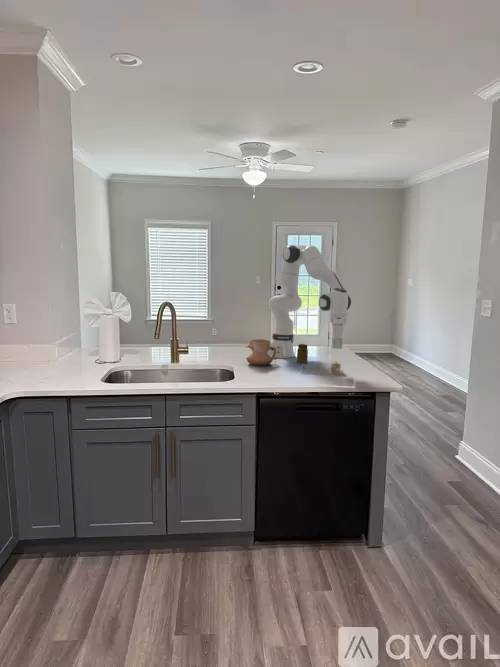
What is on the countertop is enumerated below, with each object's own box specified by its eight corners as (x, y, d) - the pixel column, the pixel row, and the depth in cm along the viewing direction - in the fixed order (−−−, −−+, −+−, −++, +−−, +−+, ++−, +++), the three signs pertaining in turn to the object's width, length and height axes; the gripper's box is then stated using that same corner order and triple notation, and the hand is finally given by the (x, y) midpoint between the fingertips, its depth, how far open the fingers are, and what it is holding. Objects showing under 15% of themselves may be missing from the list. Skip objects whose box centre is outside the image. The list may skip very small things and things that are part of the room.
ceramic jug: (243, 366, 245) (243, 342, 243) (246, 361, 259) (247, 337, 257) (275, 368, 243) (275, 343, 241) (276, 362, 257) (277, 339, 255)
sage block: (332, 348, 229) (332, 339, 228) (332, 346, 234) (332, 337, 233) (342, 348, 228) (342, 339, 227) (341, 347, 233) (342, 338, 232)
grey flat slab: (300, 375, 229) (300, 373, 228) (303, 368, 243) (303, 366, 243) (343, 378, 224) (343, 376, 224) (342, 371, 239) (343, 369, 239)
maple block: (330, 372, 231) (331, 363, 231) (330, 370, 236) (331, 361, 235) (340, 373, 230) (340, 364, 230) (340, 371, 235) (340, 362, 234)
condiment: (303, 363, 258) (304, 343, 256) (311, 366, 250) (312, 345, 248) (293, 364, 255) (294, 344, 253) (301, 367, 247) (302, 346, 245)
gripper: (332, 316, 239) (331, 341, 242) (332, 321, 220) (331, 347, 222) (344, 317, 238) (343, 341, 240) (345, 321, 218) (343, 348, 220)
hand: (337, 344), depth 231 cm, fingers closed on sage block, 5 cm apart
